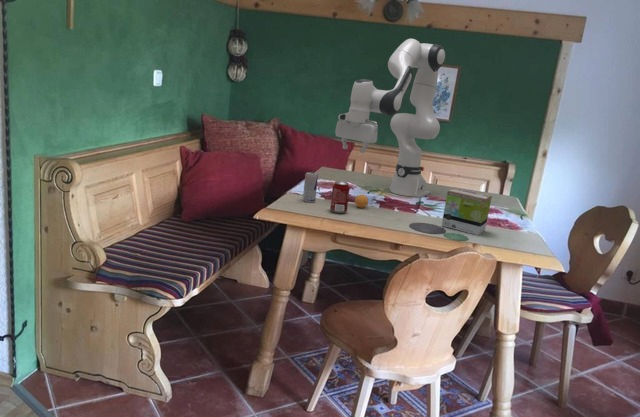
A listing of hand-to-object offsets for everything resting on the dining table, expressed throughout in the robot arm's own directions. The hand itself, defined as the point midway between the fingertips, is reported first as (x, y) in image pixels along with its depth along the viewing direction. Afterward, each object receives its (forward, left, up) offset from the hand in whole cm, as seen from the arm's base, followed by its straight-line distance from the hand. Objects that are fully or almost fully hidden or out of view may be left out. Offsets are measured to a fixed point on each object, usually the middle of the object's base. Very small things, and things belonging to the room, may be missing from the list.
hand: (353, 150), depth 223 cm
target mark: (+3, +42, -23) cm, 48 cm away
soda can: (+17, +9, -23) cm, 30 cm away
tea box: (-11, +50, -23) cm, 56 cm away
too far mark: (+3, +54, -23) cm, 59 cm away
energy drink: (+15, -9, -23) cm, 29 cm away
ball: (+2, +9, -20) cm, 22 cm away
